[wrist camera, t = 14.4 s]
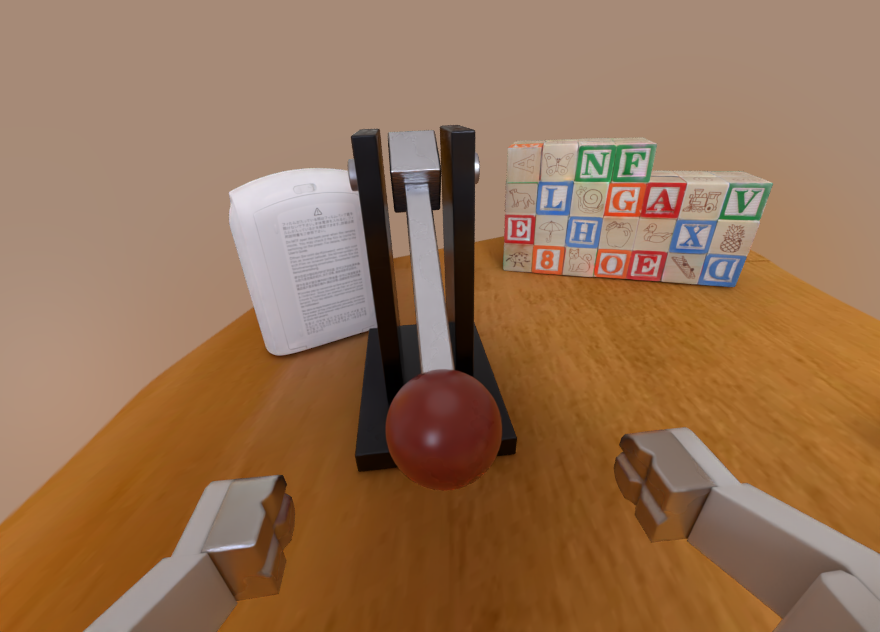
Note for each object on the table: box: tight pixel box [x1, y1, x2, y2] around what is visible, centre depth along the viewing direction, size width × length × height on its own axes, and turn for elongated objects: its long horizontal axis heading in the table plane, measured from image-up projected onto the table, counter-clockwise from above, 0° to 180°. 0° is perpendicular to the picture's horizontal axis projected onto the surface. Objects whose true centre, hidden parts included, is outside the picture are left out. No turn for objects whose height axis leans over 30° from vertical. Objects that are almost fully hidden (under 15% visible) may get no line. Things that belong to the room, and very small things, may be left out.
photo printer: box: [229, 168, 377, 355], centre depth 28 cm, size 10×4×12 cm, turn 121°
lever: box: [386, 130, 502, 491], centre depth 15 cm, size 15×4×4 cm, turn 7°
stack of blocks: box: [503, 138, 773, 287], centre depth 37 cm, size 21×6×12 cm, turn 73°
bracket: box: [348, 125, 517, 472], centre depth 21 cm, size 12×8×15 cm, turn 6°
